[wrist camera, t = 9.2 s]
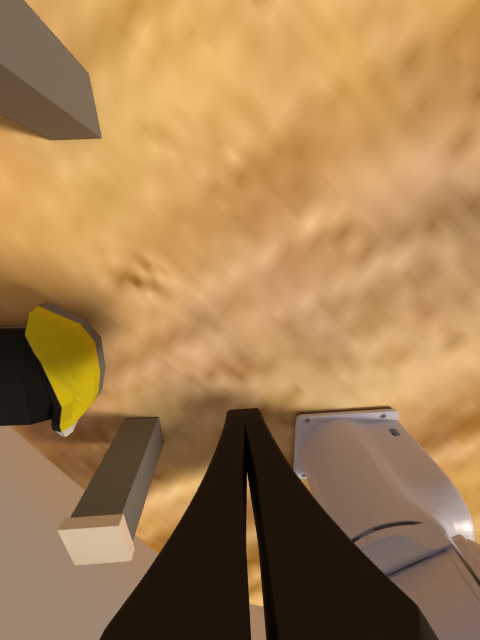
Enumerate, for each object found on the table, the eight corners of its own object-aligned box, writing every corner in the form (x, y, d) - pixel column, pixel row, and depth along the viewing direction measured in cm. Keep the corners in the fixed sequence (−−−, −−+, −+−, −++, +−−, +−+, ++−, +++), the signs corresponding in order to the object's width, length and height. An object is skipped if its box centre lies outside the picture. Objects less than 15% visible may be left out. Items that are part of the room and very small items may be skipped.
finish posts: (90, 68, 13) (-134, -198, 5) (166, 443, 23) (131, 560, 15) (28, 70, 13) (-304, -198, 5) (130, 446, 22) (74, 565, 14)
